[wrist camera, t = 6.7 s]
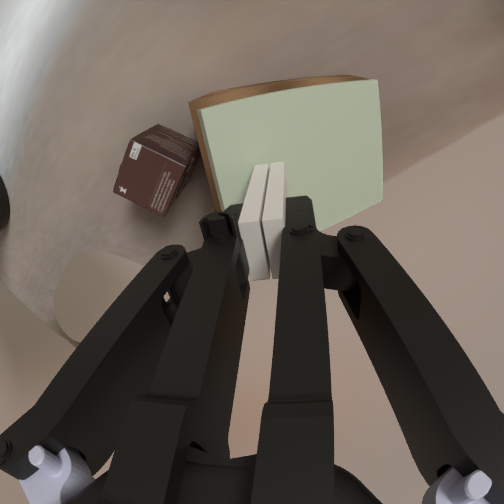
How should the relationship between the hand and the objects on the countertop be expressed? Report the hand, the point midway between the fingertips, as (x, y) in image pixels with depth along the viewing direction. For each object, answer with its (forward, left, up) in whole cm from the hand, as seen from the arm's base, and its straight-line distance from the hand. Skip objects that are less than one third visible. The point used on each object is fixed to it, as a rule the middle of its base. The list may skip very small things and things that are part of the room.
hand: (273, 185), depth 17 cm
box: (-12, -1, -16) cm, 20 cm away
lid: (+2, 0, -3) cm, 4 cm away
